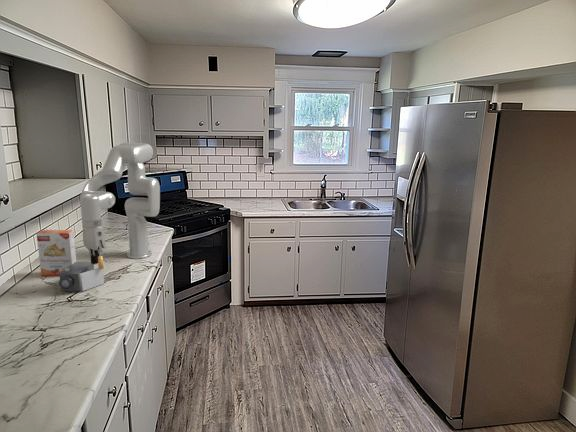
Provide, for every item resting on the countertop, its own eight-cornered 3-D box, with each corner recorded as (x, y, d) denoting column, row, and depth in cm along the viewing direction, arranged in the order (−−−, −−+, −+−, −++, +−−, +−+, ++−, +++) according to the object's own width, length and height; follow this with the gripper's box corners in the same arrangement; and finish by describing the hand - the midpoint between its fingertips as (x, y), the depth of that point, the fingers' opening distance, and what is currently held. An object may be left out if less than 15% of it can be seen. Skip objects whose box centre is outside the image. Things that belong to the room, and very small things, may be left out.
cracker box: (40, 276, 186) (35, 233, 181) (46, 271, 192) (41, 229, 187) (73, 275, 188) (68, 232, 183) (77, 271, 194) (73, 229, 189)
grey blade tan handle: (103, 283, 181) (100, 255, 178) (106, 284, 180) (104, 256, 176) (79, 291, 172) (76, 262, 169) (82, 292, 171) (79, 263, 167)
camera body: (77, 278, 186) (75, 260, 184) (94, 278, 186) (93, 260, 184) (57, 293, 170) (55, 273, 168) (76, 293, 170) (74, 274, 168)
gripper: (110, 224, 173) (113, 264, 178) (90, 218, 181) (93, 257, 185) (93, 228, 167) (97, 269, 171) (73, 222, 175) (78, 261, 179)
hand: (95, 263), depth 178 cm, fingers closed
